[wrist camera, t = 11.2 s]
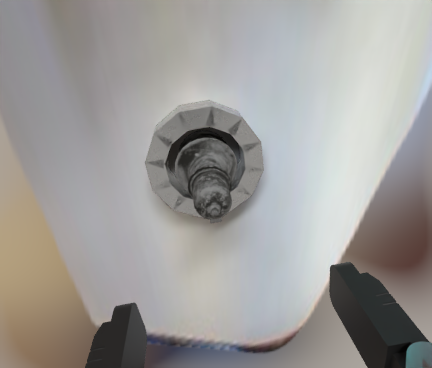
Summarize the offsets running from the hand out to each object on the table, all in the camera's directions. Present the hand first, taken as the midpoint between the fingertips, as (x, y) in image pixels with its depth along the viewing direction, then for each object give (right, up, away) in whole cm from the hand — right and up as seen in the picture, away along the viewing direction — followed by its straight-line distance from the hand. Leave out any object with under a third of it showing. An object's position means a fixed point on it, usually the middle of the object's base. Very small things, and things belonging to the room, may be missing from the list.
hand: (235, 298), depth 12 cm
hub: (-2, +8, +19) cm, 21 cm away
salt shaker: (-2, +8, +19) cm, 21 cm away
